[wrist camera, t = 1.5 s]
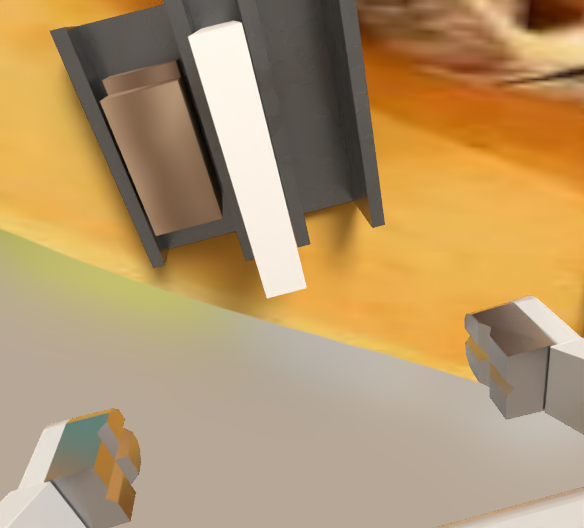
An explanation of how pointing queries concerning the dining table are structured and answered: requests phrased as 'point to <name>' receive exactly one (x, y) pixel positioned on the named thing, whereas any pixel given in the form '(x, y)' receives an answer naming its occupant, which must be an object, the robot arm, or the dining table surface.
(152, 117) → the offcut upper
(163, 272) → the dining table surface
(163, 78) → the offcut lower
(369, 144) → the rack
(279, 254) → the tall sheet
